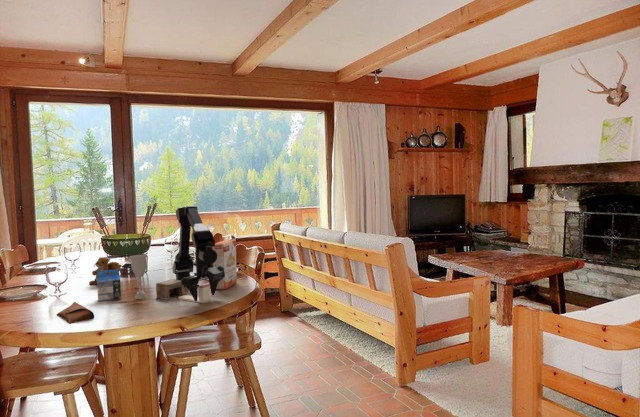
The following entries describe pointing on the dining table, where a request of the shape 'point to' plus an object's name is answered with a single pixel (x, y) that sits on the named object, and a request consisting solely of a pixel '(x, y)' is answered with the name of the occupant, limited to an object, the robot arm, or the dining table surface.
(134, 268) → the chalice
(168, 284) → the box
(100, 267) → the stuffed squirrel
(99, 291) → the label tape cartridge
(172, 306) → the dining table surface
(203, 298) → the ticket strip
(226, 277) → the cracker box
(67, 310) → the sunglasses case
